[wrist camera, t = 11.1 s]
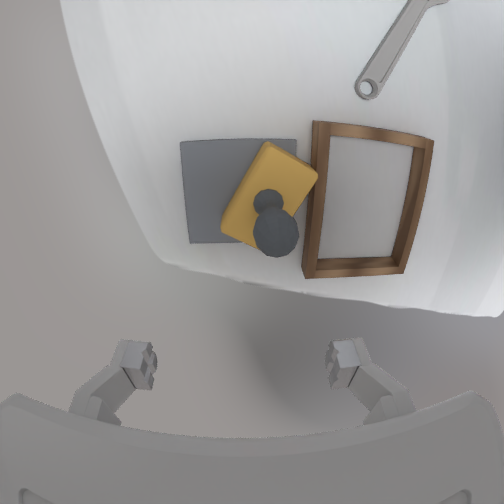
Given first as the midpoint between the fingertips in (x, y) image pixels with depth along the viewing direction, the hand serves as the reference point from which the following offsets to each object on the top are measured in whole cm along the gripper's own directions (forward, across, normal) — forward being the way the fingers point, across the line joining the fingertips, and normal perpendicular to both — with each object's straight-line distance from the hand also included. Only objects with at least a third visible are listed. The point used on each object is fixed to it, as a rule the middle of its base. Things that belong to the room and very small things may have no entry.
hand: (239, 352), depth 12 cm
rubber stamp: (+21, -2, 0) cm, 21 cm away
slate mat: (+21, 0, 0) cm, 21 cm away
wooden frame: (+22, -15, +1) cm, 26 cm away
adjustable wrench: (+22, -18, -23) cm, 37 cm away
